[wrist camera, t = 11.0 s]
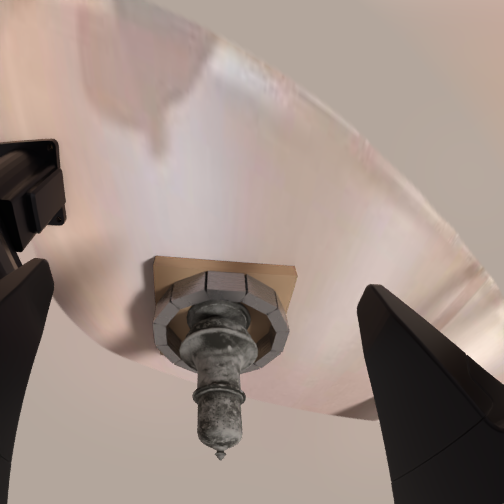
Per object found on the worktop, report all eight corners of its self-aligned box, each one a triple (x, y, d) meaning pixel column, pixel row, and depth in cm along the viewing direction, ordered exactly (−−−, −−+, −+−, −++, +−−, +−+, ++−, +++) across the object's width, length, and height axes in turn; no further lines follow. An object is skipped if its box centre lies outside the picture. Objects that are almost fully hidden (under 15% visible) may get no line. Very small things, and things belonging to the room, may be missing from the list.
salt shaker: (212, 350, 28) (214, 475, 18) (168, 314, 25) (151, 454, 15) (267, 324, 26) (287, 459, 17) (226, 282, 23) (230, 437, 14)
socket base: (162, 344, 29) (158, 371, 26) (155, 255, 23) (148, 283, 20) (269, 350, 31) (273, 377, 28) (294, 266, 25) (302, 294, 22)
